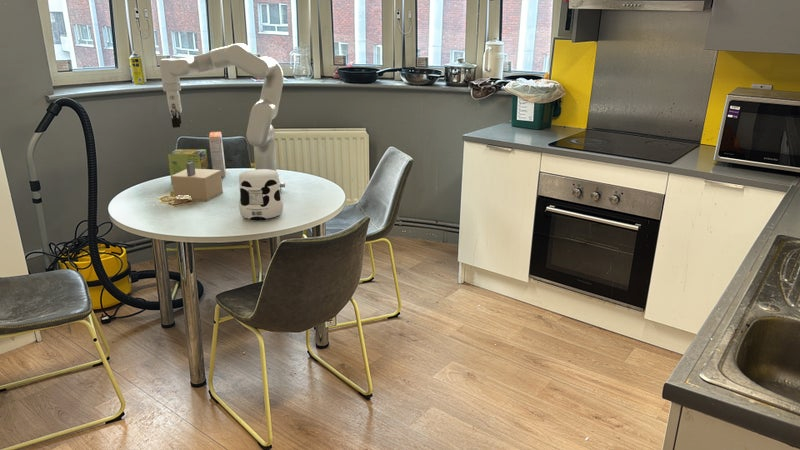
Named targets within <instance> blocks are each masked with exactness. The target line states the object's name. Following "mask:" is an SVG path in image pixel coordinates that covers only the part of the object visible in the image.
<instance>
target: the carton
mask: <svg viewBox="0 0 800 450" xmlns="http://www.w3.org/2000/svg"><path fill="white" fill-rule="evenodd" d="M222 181H223V180H222V177H221V172H219V173H217V174H215V175H213V176H211V177H208V178H206V179H193V178H176V177H172V184H173V185H172V184H171V185H172V189H173V190H172V191H173V197H174V196H178V195H189V196H191V198H192V200H191V201H192V202H193V201H196V202H209V201H211V200H212V199H214V198H216V197H218V196H219V195H221V194H223V193H224V191H223V182H222Z"/></svg>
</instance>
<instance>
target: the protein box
mask: <svg viewBox="0 0 800 450" xmlns="http://www.w3.org/2000/svg"><path fill="white" fill-rule="evenodd" d="M207 155H208V154H207V149H205V148H204V149H203V148H202V149H174V150H173V151H171V152H169V153H168V154H167V158H168V166H169V174H170V175H169V176H170V184H171V186H173V184H172V177H171V176H172V175H174V174H176V173H179V172H181V171H183V170H186V169H187V167H186V164H187V163H189V162H194V165H195V169H209V164H208V163H209V162H208V156H207Z"/></svg>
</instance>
